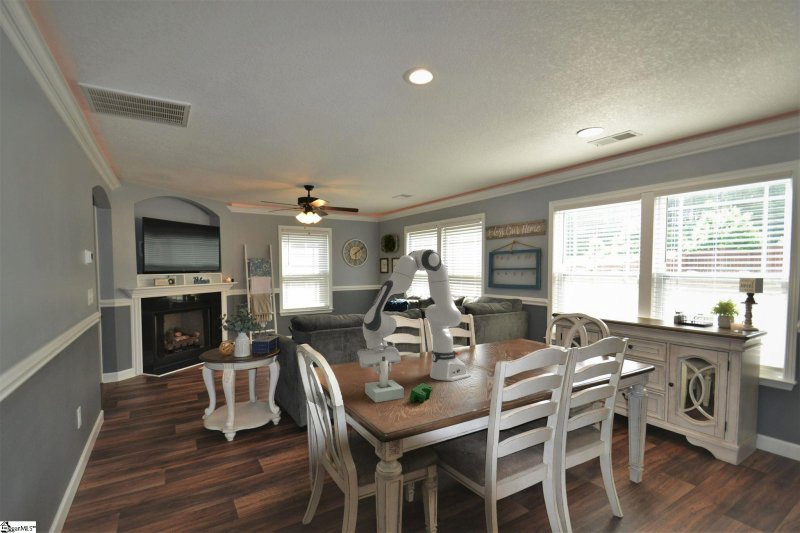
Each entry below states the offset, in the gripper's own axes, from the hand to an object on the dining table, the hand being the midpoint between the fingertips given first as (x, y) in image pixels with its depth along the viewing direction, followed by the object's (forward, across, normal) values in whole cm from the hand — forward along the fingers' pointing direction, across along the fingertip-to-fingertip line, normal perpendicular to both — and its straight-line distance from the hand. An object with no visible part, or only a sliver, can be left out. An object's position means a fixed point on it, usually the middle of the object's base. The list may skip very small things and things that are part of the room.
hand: (384, 372), depth 177 cm
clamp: (+16, +14, 0) cm, 21 cm away
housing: (+7, 0, +8) cm, 11 cm away
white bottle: (+4, 0, +5) cm, 7 cm away
